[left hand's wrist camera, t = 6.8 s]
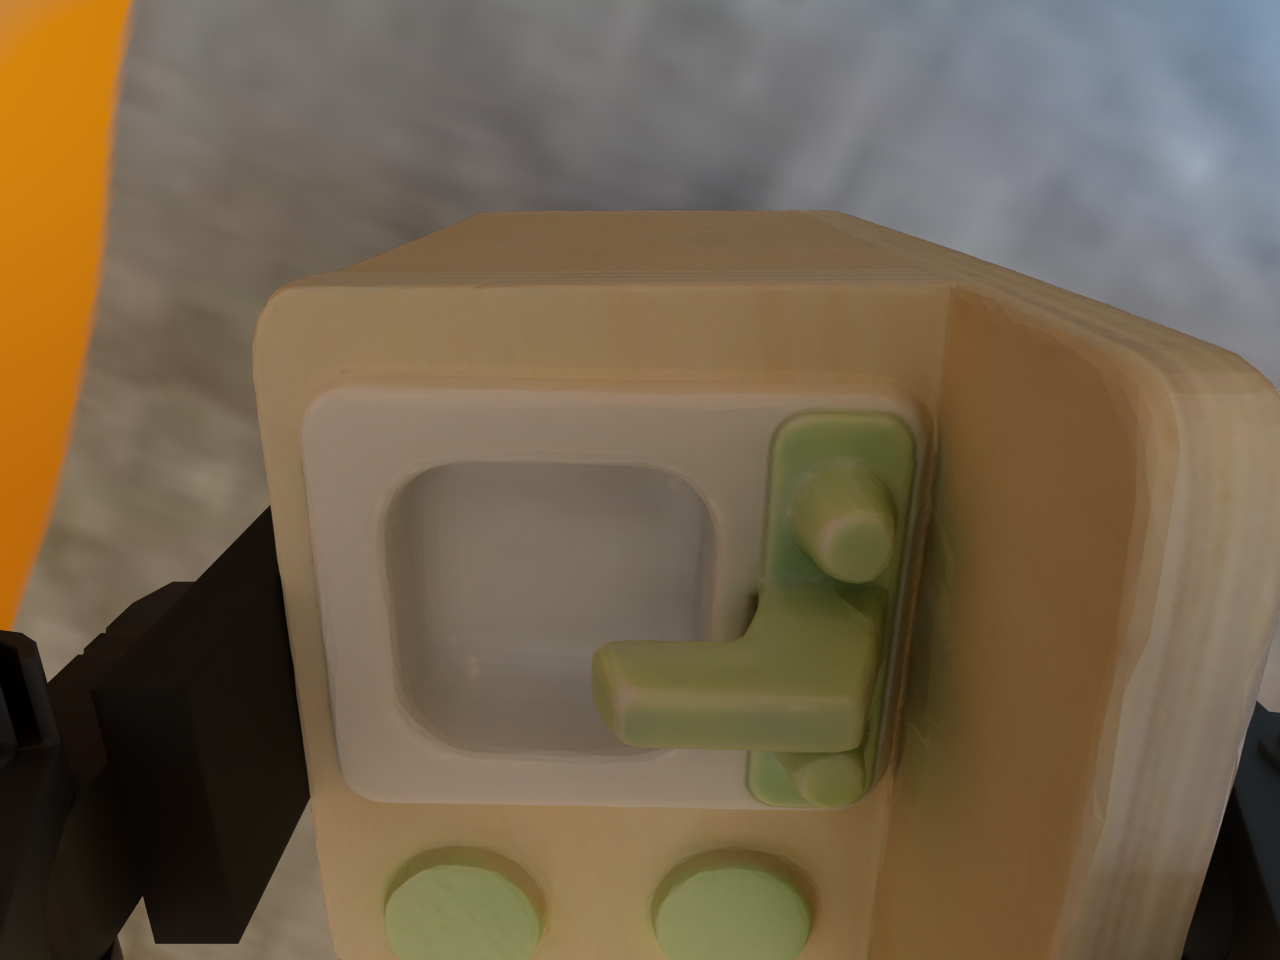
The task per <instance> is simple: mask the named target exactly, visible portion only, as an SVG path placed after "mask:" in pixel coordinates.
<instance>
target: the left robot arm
mask: <svg viewBox="0 0 1280 960" xmlns="http://www.w3.org/2000/svg"><path fill="white" fill-rule="evenodd" d="M309 799H310V791H309V783H308V776H307V768H306V761H305V754H304V745H303V737H302V730H301V723H300V716H299V709H298V702H297V696H296V686H295V674H294V665H293V659H292V654H291V648H290V641H289V634H288V627H287V621H286V613H285V605H284V597H283V590H282V582H281V576H280V571H279V566H278V560H277V552H276V543H275V535H274V526H273V519H272V512H271V505H270V506H269V507H268V508H267V509H266V510H265V511H264V512H263V513H262V514H261V515H260V516H259V517H258V518H257V519H256V520H255V521H254V522H253V523H252V524H251V525H250V526H249V527H248V528H247V529H246V530H245V531H244V532H243V533H242V534H241V535H240V536H239V538H238V539H237V540H236V541H235V542H234V543H233V544H232V545H231V546H230V547H229V548H228V549H227V550H226V551H225V552H224V553H223V554H222V555H221V556H220V557H219V558H218V559H217V560H216V561H215V562H214V563H213V564H212V565H211V566H210V567H209V568H208V569H207V570H206V571H205V572H204V573H203V574H202V575H201V576H200V577H199V579H198V580H197V581H196V582H171V583H170V584H168V585H166V586H164V587H162V588H160V589H158V590H156V591H155V592H153V593H151V594H149V595H147V596H145V597H143V598H141V599H139V600H138V601H136V602H134V603H132V604H131V605H130V606H129V607H128V608H127V609H126V610H125V611H124V612H123V613H122V614H121V615H120V616H118V617H117V618H116V619H115V620H114V621H113V622H112V623H111V624H110V625H109V626H108V627H107V628H106V633H100V634H99V635H98V636H97V637H96V638H95V639H94V640H93V641H92V642H91V643H90V644H89V645H88V646H87V647H86V648H84V653H83V655H77V656H76V657H75V658H74V659H73V660H72V661H71V662H70V663H69V664H67V665H66V666H65V667H64V668H63V669H62V670H61V671H60V672H59V673H58V674H57V675H56V676H55V677H54V678H53V679H52V680H50V681H49V682H48V683H47V680H46V676H45V673H44V669H43V666H42V662H41V658H40V655H39V651H38V647H37V644H36V642H35V641H33V640H32V639H30V638H29V637H27V636H26V635H24V634H23V633H19V632H11V631H3V630H0V960H124V959H123V954H122V950H121V947H120V943H119V940H118V936H117V935H118V933H119V932H120V930H121V929H122V927H123V925H124V924H125V922H126V921H127V919H128V918H129V916H130V915H131V913H132V912H133V910H134V908H135V907H136V905H137V904H138V902H139V901H140V899H141V898H142V896H143V898H144V902H145V906H146V910H147V913H148V917H149V921H150V925H151V929H152V933H153V937H154V941H155V944H238V943H239V941H240V939H241V937H242V935H243V933H244V931H245V929H246V927H247V925H248V923H249V921H250V919H251V917H252V915H253V913H254V911H255V909H256V907H257V905H258V903H259V901H260V899H261V897H262V895H263V893H264V891H265V889H266V886H267V884H268V882H269V880H270V878H271V876H272V874H273V872H274V870H275V868H276V866H277V864H278V862H279V860H280V858H281V856H282V854H283V852H284V850H285V848H286V846H287V844H288V842H289V840H290V838H291V836H292V834H293V831H294V829H295V827H296V825H297V823H298V821H299V819H300V817H301V815H302V813H303V811H304V809H305V807H306V805H307V803H308V801H309ZM1181 960H1280V713H1277V712H1268V711H1267V710H1266V709H1265V708H1264V707H1263V706H1262V705H1261V704H1260V703H1259V702H1258V701H1256V705H1255V709H1254V712H1253V714H1252V717H1251V720H1250V723H1249V726H1248V729H1247V732H1246V736H1245V740H1244V744H1243V748H1242V753H1241V757H1240V761H1239V765H1238V769H1237V773H1236V776H1235V779H1234V783H1233V786H1232V789H1231V793H1230V796H1229V800H1228V803H1227V806H1226V810H1225V813H1224V816H1223V820H1222V823H1221V826H1220V830H1219V833H1218V836H1217V840H1216V843H1215V846H1214V850H1213V853H1212V856H1211V860H1210V863H1209V866H1208V869H1207V873H1206V876H1205V879H1204V882H1203V885H1202V889H1201V892H1200V895H1199V898H1198V902H1197V905H1196V908H1195V911H1194V914H1193V918H1192V921H1191V924H1190V927H1189V930H1188V934H1187V937H1186V941H1185V945H1184V949H1183V953H1182V957H1181Z"/></svg>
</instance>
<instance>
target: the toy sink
mask: <svg viewBox="0 0 1280 960" xmlns="http://www.w3.org/2000/svg"><path fill="white" fill-rule="evenodd" d="M252 363H253V381H254V388H255V394H256V401H257V410H258V418H259V426H260V433H261V440H262V447H263V454H264V461H265V468H266V476H267V483H268V490H269V497H270V505H271V512H272V519H273V526H274V535H275V543H276V552H277V560H278V566H279V571H280V576H281V582H282V590H283V597H284V605H285V613H286V621H287V627H288V634H289V641H290V648H291V654H292V659H293V665H294V674H295V686H296V696H297V702H298V709H299V716H300V723H301V730H302V737H303V745H304V754H305V761H306V768H307V776H308V783H309V791H310V800H311V807H312V815H313V824H314V832H315V840H316V846H317V852H318V858H319V868H320V877H321V884H322V891H323V898H324V905H325V910H326V916H327V921H328V927H329V933H330V940H331V943H332V945H333V948H334V950H335V952H336V954H337V956H338V958H339V959H340V960H1181V957H1182V953H1183V949H1184V945H1185V941H1186V937H1187V934H1188V930H1189V927H1190V924H1191V921H1192V918H1193V914H1194V911H1195V908H1196V905H1197V902H1198V898H1199V895H1200V892H1201V889H1202V885H1203V882H1204V879H1205V876H1206V873H1207V869H1208V866H1209V863H1210V860H1211V856H1212V853H1213V850H1214V846H1215V843H1216V840H1217V836H1218V833H1219V830H1220V826H1221V823H1222V820H1223V816H1224V813H1225V810H1226V806H1227V803H1228V800H1229V796H1230V793H1231V789H1232V786H1233V783H1234V779H1235V776H1236V773H1237V769H1238V765H1239V761H1240V757H1241V753H1242V748H1243V744H1244V740H1245V736H1246V732H1247V729H1248V726H1249V723H1250V720H1251V717H1252V714H1253V712H1254V709H1255V705H1256V701H1257V697H1258V693H1259V689H1260V685H1261V681H1262V677H1263V673H1264V670H1265V666H1266V662H1267V658H1268V654H1269V650H1270V646H1271V642H1272V638H1273V634H1274V630H1275V626H1276V622H1277V618H1278V614H1279V610H1280V393H1279V392H1278V390H1277V389H1276V387H1275V386H1274V385H1273V384H1272V383H1271V382H1270V381H1269V380H1268V379H1267V378H1266V377H1265V376H1264V375H1263V374H1262V373H1261V372H1260V371H1258V370H1257V369H1256V368H1254V367H1253V366H1252V365H1250V364H1249V363H1248V362H1247V361H1245V360H1244V359H1243V358H1241V357H1240V356H1239V355H1238V354H1235V353H1233V352H1230V351H1228V350H1226V349H1223V348H1221V347H1218V346H1216V345H1213V344H1210V343H1208V342H1205V341H1203V340H1200V339H1197V338H1195V337H1192V336H1190V335H1187V334H1184V333H1182V332H1179V331H1176V330H1174V329H1171V328H1168V327H1165V326H1163V325H1160V324H1157V323H1154V322H1152V321H1149V320H1146V319H1143V318H1140V317H1138V316H1135V315H1132V314H1130V313H1127V312H1125V311H1123V310H1120V309H1118V308H1115V307H1113V306H1110V305H1108V304H1105V303H1102V302H1099V301H1096V300H1093V299H1090V298H1087V297H1084V296H1082V295H1079V294H1076V293H1073V292H1070V291H1067V290H1064V289H1062V288H1059V287H1056V286H1054V285H1051V284H1048V283H1046V282H1043V281H1040V280H1038V279H1035V278H1032V277H1029V276H1026V275H1024V274H1021V273H1018V272H1015V271H1013V270H1010V269H1007V268H1004V267H1001V266H998V265H995V264H992V263H989V262H986V261H983V260H980V259H978V258H976V257H973V256H970V255H967V254H965V253H962V252H959V251H956V250H953V249H950V248H947V247H944V246H941V245H938V244H935V243H932V242H929V241H926V240H923V239H920V238H917V237H914V236H910V235H908V234H905V233H902V232H899V231H896V230H893V229H889V228H887V227H884V226H881V225H877V224H874V223H872V222H868V221H865V220H862V219H860V218H857V217H853V216H851V215H848V214H843V213H841V212H834V211H798V210H796V211H662V210H641V211H510V212H484V213H479V214H475V215H473V216H472V217H469V218H468V219H464V220H462V221H460V222H457V223H455V224H453V225H451V226H449V227H446V228H443V229H440V230H438V231H435V232H433V233H430V234H428V235H426V236H423V237H421V238H419V239H417V240H414V241H412V242H409V243H406V244H403V245H401V246H398V247H396V248H394V249H392V250H390V251H388V252H385V253H383V254H379V255H377V256H376V257H372V258H369V259H366V260H364V261H362V262H359V263H357V264H355V265H352V266H350V267H347V268H344V269H341V270H338V271H335V272H325V273H320V274H315V275H310V276H306V277H303V278H300V279H297V280H294V281H292V282H290V283H288V284H286V285H284V286H281V287H280V288H279V289H278V290H277V291H275V292H274V293H273V294H272V295H271V296H270V297H269V299H268V301H267V303H266V304H265V306H264V308H263V310H262V311H261V313H260V315H259V317H258V319H257V323H256V327H255V331H254V337H253V345H252Z"/></svg>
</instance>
